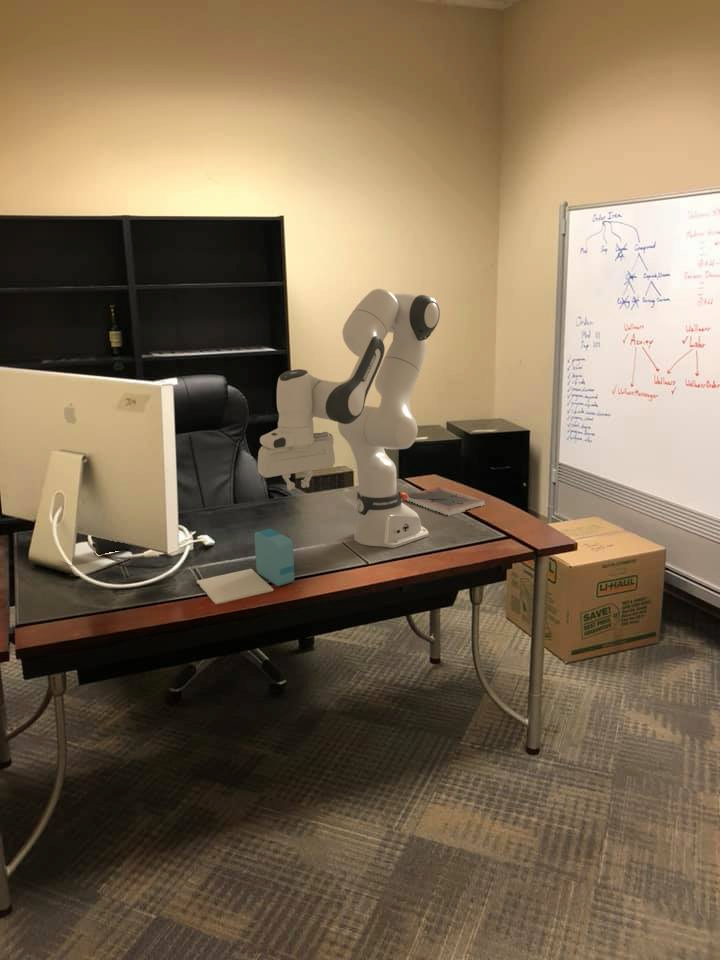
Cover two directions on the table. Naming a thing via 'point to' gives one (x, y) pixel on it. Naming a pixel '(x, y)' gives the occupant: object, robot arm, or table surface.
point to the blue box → (274, 557)
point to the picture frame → (444, 500)
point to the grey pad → (234, 586)
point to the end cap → (108, 546)
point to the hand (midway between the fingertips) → (298, 488)
